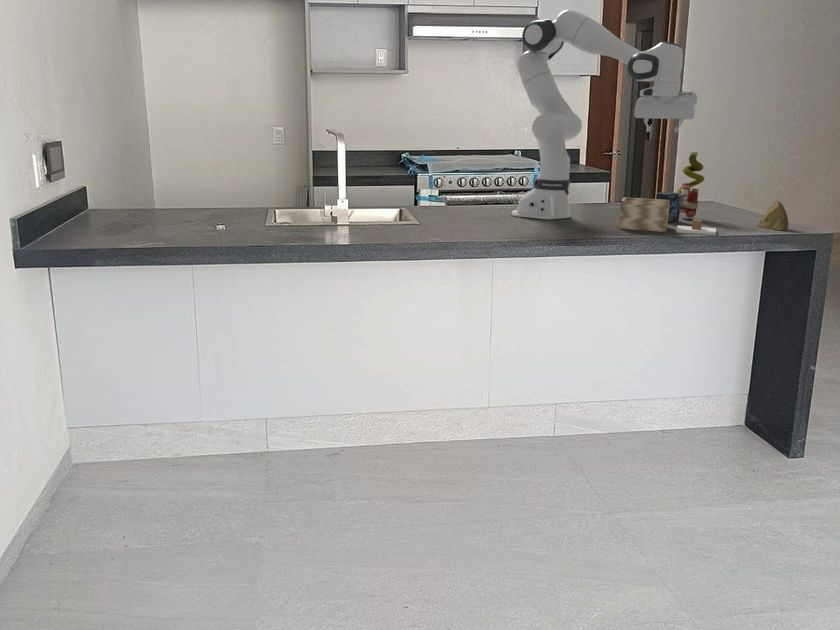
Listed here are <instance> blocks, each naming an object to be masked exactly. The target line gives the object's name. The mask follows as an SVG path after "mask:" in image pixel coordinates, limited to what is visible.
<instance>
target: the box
mask: <svg viewBox="0 0 840 630" xmlns="http://www.w3.org/2000/svg"><path fill="white" fill-rule="evenodd" d="M655 197H656V198H655V199H661V200H670V206H669V216H668V223H674V222H679V221H680V213H681V212H680V206H681V197H682V194H681V193H676V192H673V191H665V192H656V196H655Z"/></svg>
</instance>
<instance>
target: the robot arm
mask: <svg viewBox="0 0 840 630" xmlns="http://www.w3.org/2000/svg"><path fill="white" fill-rule="evenodd" d="M522 41H523V44H524V46H525V47H526V48H527V50H526V51H524V52H523V53H522V54H521V55H519V57H518V59H517V64H516V65H517V69H518V73H519V76H520V80H521V82H522V85H523V87H524V90H525V92H526V95H527V97H528V100H529V102H530V104H531V106H532V107H533V108H535V110H537V112H539V115H538V116H536V117H534V120H533V122H532V124H531V132H532V135H533V136H534V138H535V139H536V141H537V145H538V150H539V158H540V161H539V162H540V163H539V164H540V165H539V178H538V177H537V178H535V179H534V180H533V187H534V188H533V189H531V190H529V191H528V192H526V193H525V194H524V195H522V196H521V198H520V199H519V202H518V204H517V209H514V210H512V211H511V216H513V217H520V218H521V217H522V218H530V219H542V220H557V219H567V218H571V217H572V215H571V211H570V204H569V203H570V202H569V195H570V189H571V188H570V187H571V180H570V169H571V157H570V156H569V154H568V152H567V145H566V142H567V141H570V140H573V139H574V138H576V137H578V135H579V134H580V133H581V131H582V127H583V122H582V120H581V118H580V116H579V115H578V114H576V113H575V112H574V110H572V108H571V107H570V105H569V104H568V102H567V100H565V98H564V96H563V95H562V94H561V92H560V90H559V88H558V85H557V83H556V81H555V79H554V76H553V74H552V72H551V70H550V69H551V68H550V67H549V64H548V61H549V60H551V59H552V58H553V57H555V55H556V54H558V53H559V52H560V51H561V50H562V48H563V47H564V44H565V43H567V44H569V45H571V46H573V48H576V49H578V50H580V51H582V52H585V53H588V54H592V55H599V56H607V57H609V58H610V57H611V58H613V59H616V60H618V61H619V62H622V63H623V64H625V65H626V66H627V67H626V70H627V73H628V76H629V77H630V78H632V79H633V80H635V81H639V82H646V83H653V86H649V87H647V88H646V87H645V88H643V89H641V90H640V91H639V96H640V97H638V99H637V100H636V102H635V107H634V111H633V112H634V113H633V116H634V117H635V118H636V119H643V123H644V125H645V127H646V128H645V129H646V130H645V132H646V133H651V132H652V126H649V124H648V122H649V119H655V120H656V119H657V120H658V119H662V120H663V119H664V120H667V119H668V120H678V125H677V126H675V127H674V130H673V132H674V133H676V134H679V132H680V127H681V126H682V125H683V123H684V120H693V119H694V118H695V106H696V105H697V103H698V95H697V94H696V93H695V92H693V91H681V82H682V81H681V72H682V70H683V62H684V61H683V58H684V57H683V48H682V46H681V45H680V44H678V43H674V42H669V41H661V42H659V43H658V44H656V45H655V46H654V47H651V48H649V49H647V50H644V51H642V50H640V49H638V48H637V47H634V46H633V45H631V44H629V43H627V42H626V41H623V40H621V39H620V38H619V37H617V36H616V35H615V34H614V33H612V32H611V31H610V30H609V29H607V28H606V27H605V26H603V25H602V24H601V23H600V22H598V20H597V21H596V20H595V19H594V18H592V17H590V16H587V15H586V14H584V13H581V12H578V11H576V10H572V9H566V10H563V11H561V12H560V13H559V14H558V15H557V17H556V19H555V20H552V19H538V20H532V21H531V22H529V23H528V24H526V25H525V26H524V28H523V31H522Z"/></svg>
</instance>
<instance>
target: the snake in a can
mask: <svg viewBox="0 0 840 630" xmlns="http://www.w3.org/2000/svg"><path fill="white" fill-rule="evenodd" d="M689 153H690V154H689V156H688V162H689V164H690V165H687V166H685V167H684V168H683V169H682V173H683V174H684V175H685V176H686V177H689V178H691V179H693V180H692V181H688V182H687V183H685V182H684V183H682V184H681V187H679V188H678V189H677V191H676V192H675V193H681V194H682V197H681V206H680V213H681V214H685V216H686V217H687V218H694V217H695V216H696V215H697V209H698V204H699V200H698V199H699V190H700V189H698V188H693V187H695V186H697V185H699V184H701V183H703V182H705V177H704V176H703V175H702V174H699V173H696V172H701V171H703V169H704V165H703V164H702V163H701V162H700V161H698V160H697V157H698V153H699V152H697V151H690V152H689ZM691 188H692V189H691Z"/></svg>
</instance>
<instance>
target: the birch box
mask: <svg viewBox="0 0 840 630" xmlns="http://www.w3.org/2000/svg"><path fill="white" fill-rule="evenodd" d="M669 206H670V200H661V199H656V198H642V197H623V198H622V199H621V202H620V211H619V224H618V229H619V230H634V231H650V232H661V233H662V232H664V233H666V232H667V229H668V225H669V222H668V216H669Z"/></svg>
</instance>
